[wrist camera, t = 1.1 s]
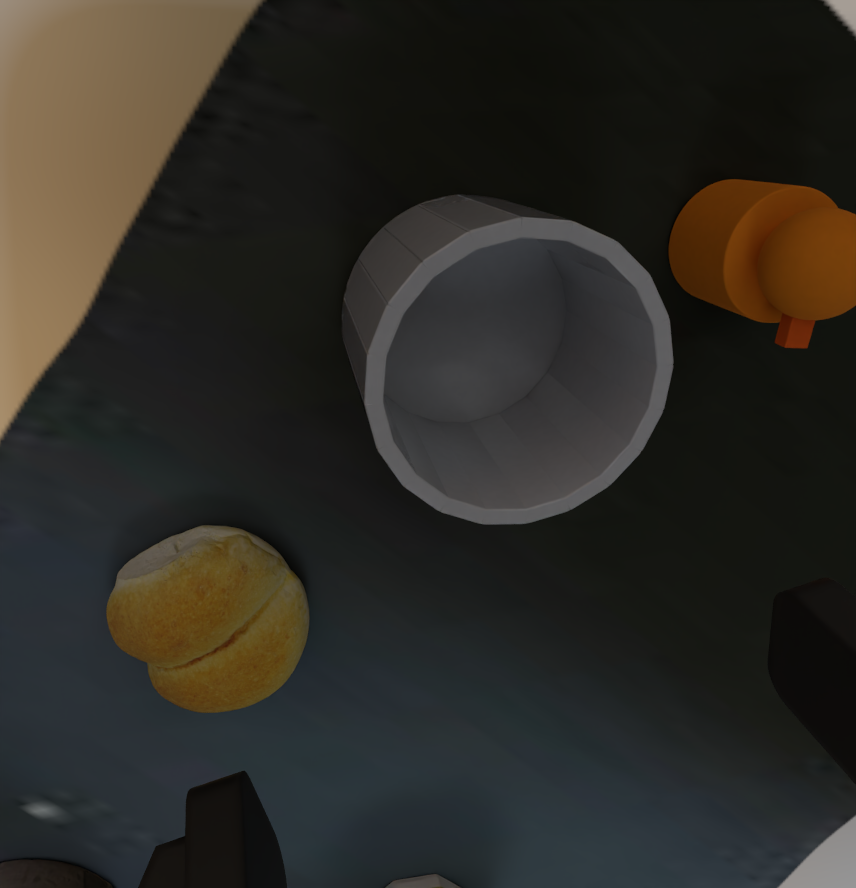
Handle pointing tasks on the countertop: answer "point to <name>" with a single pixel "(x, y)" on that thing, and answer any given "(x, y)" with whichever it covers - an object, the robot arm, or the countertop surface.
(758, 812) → the countertop surface
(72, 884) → the grey canister
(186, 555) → the bread roll
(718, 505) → the countertop surface
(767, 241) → the duck
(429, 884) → the ceramic cup
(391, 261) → the pot
